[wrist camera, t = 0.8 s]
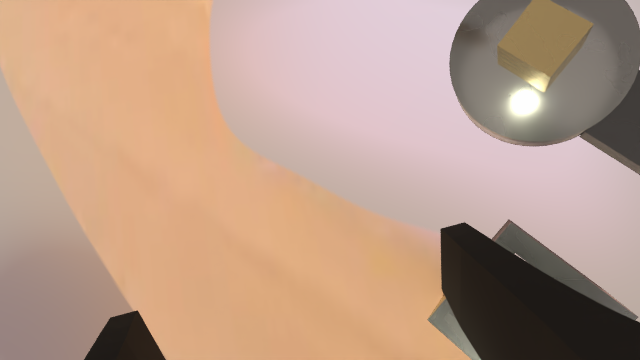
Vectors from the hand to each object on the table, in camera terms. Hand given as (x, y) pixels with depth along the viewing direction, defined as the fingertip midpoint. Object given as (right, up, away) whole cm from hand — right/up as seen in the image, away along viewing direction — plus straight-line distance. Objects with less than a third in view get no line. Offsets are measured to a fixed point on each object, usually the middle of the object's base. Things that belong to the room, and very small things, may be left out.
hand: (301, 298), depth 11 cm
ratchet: (+15, +5, +9) cm, 18 cm away
